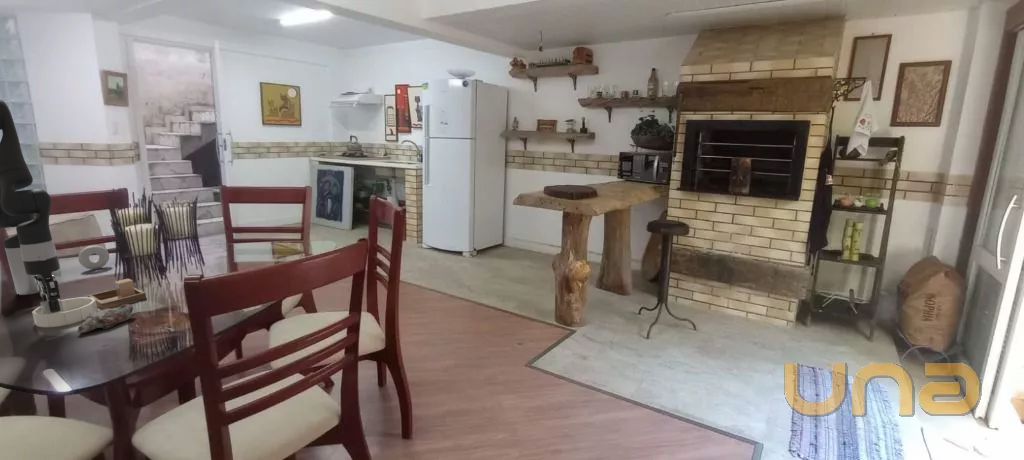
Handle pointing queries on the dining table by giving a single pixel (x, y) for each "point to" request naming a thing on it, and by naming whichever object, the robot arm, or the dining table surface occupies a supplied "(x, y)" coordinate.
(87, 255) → the donut
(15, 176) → the robot arm
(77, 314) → the cream bowl
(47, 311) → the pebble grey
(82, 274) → the dining table surface
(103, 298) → the walnut tray
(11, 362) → the dining table surface
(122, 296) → the tan block
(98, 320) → the mineral rock
